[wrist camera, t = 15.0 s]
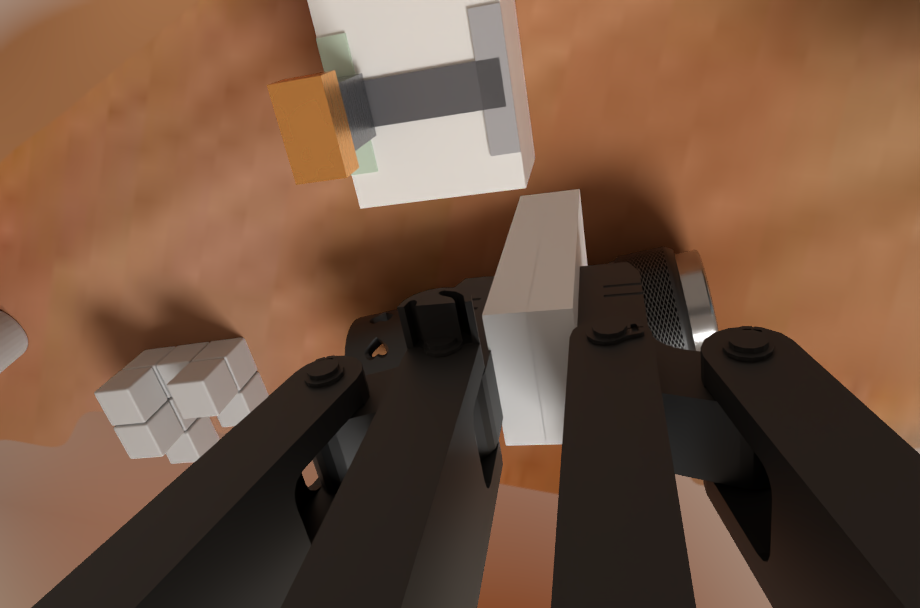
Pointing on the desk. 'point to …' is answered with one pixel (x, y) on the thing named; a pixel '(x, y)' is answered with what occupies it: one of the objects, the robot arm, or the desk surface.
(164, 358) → the puzzle cube
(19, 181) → the desk surface
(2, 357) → the coffee cup
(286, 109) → the breaker toggle
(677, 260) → the muzzle brake
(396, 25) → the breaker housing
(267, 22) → the desk surface
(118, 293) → the desk surface
